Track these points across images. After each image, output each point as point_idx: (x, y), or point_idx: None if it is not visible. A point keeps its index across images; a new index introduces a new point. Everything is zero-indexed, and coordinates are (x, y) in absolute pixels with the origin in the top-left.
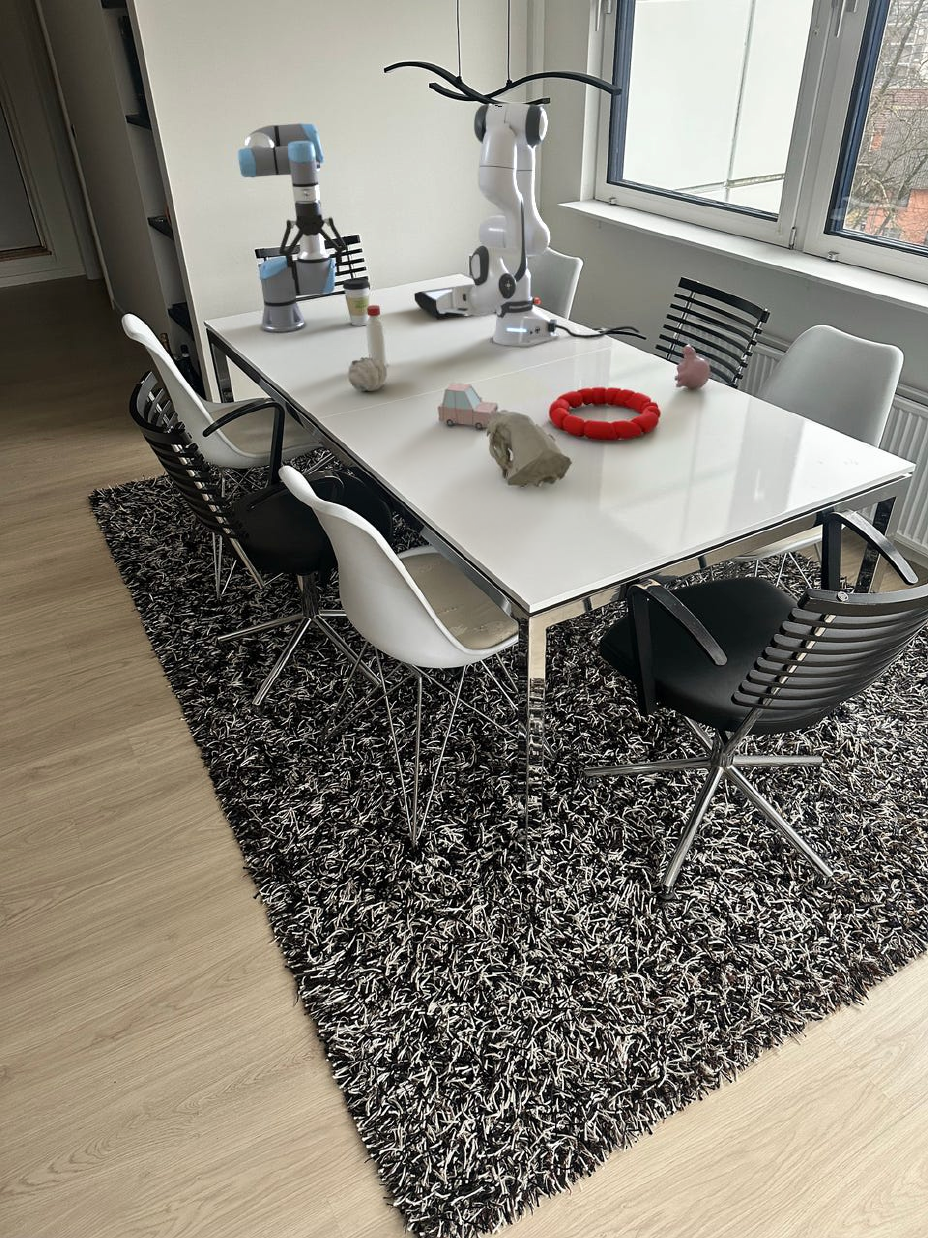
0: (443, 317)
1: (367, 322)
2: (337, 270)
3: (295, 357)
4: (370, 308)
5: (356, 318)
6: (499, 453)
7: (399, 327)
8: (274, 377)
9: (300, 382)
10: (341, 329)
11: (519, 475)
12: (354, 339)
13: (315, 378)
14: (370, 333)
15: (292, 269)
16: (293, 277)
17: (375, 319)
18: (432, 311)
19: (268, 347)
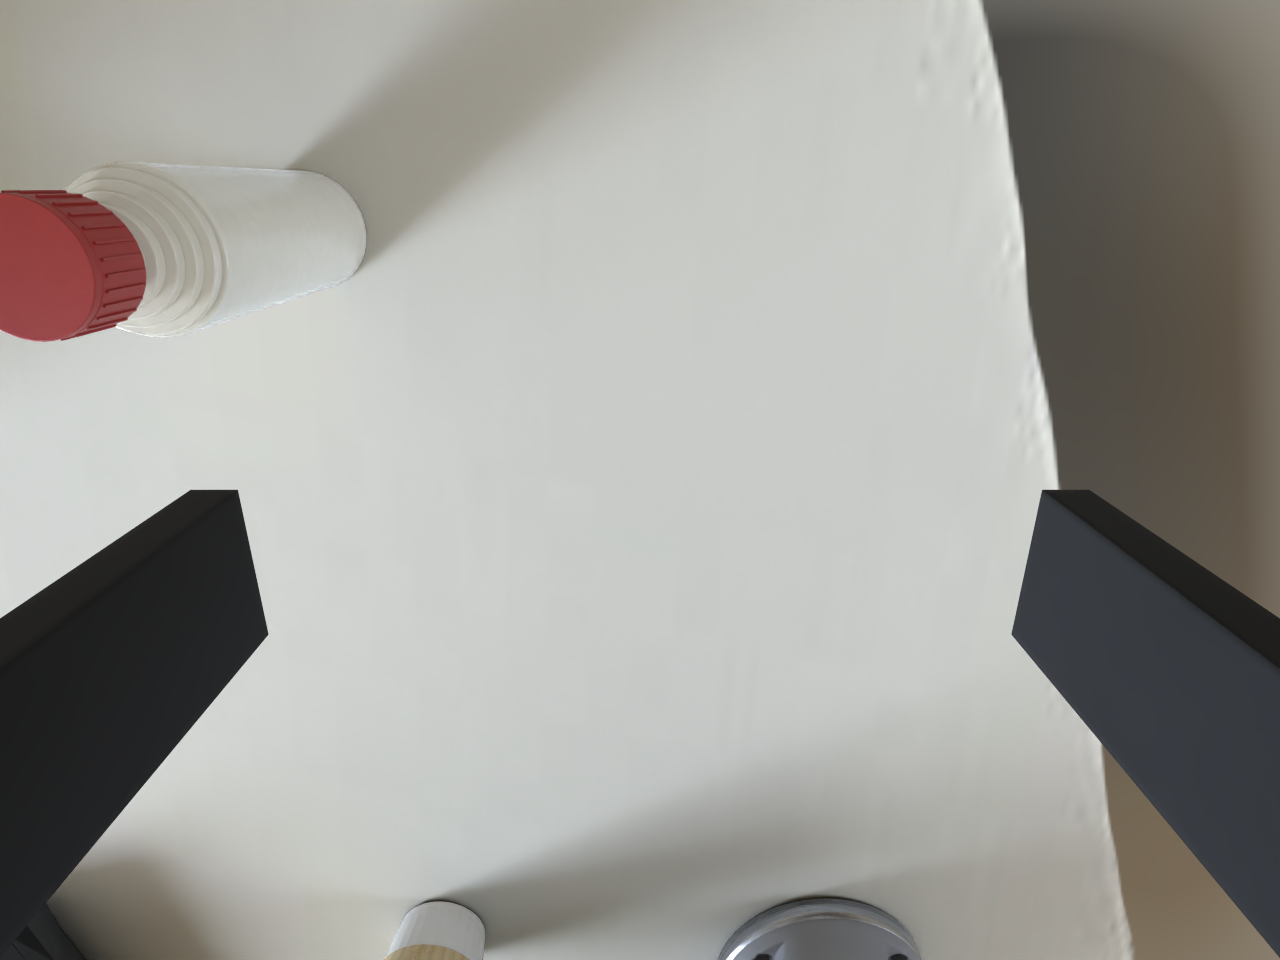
0: None
1: (197, 242)
2: (167, 527)
3: (811, 521)
4: (44, 212)
5: (448, 934)
6: None
7: (236, 839)
8: (986, 180)
9: (835, 19)
10: (537, 874)
11: None
12: (470, 724)
13: (728, 80)
14: (218, 182)
15: (1193, 572)
16: (1090, 498)
17: None
18: (36, 938)
19: (933, 711)
